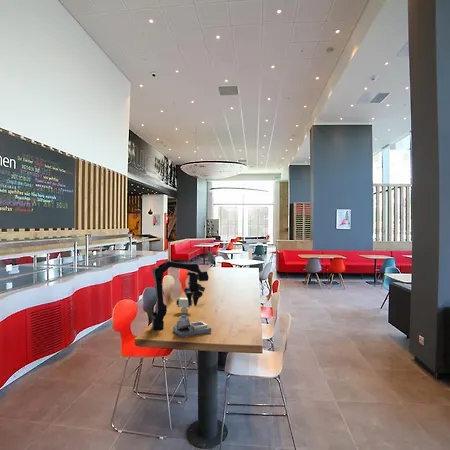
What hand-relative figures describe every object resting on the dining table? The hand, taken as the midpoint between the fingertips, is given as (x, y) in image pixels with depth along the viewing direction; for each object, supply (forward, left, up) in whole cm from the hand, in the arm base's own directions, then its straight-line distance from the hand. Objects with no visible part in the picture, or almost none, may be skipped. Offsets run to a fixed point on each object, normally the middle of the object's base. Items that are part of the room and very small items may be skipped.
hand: (192, 304), depth 213 cm
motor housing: (-7, -16, -13) cm, 22 cm away
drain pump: (-7, -2, -13) cm, 15 cm away
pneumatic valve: (+6, +29, -13) cm, 32 cm away
